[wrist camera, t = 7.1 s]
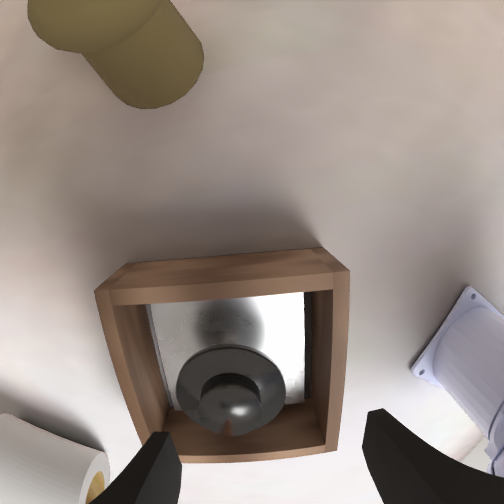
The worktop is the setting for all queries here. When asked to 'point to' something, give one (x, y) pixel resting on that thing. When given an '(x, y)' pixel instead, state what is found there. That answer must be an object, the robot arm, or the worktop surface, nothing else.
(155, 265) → the frame
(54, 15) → the brown tapered figure
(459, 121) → the worktop surface
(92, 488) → the toilet paper
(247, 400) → the plunger
